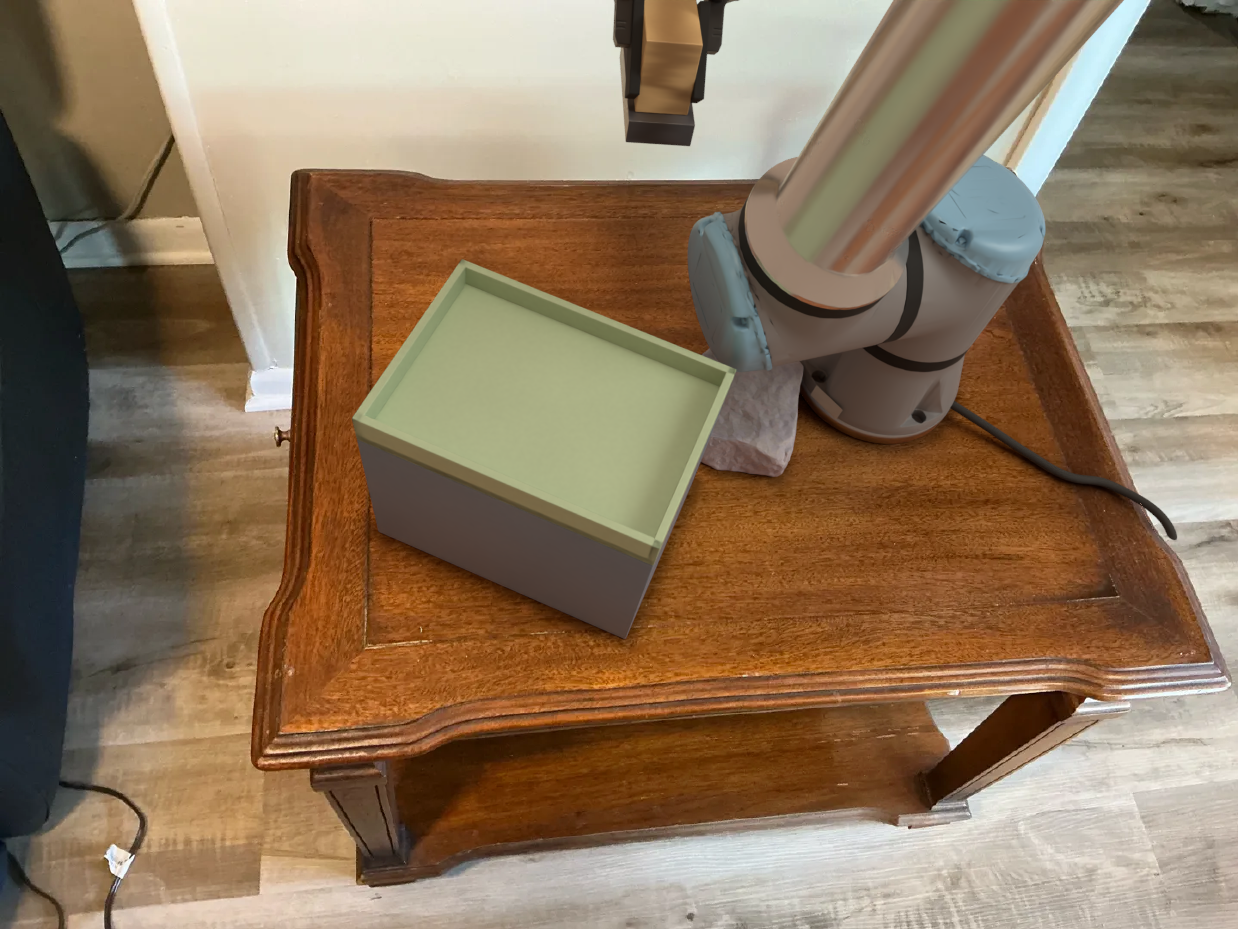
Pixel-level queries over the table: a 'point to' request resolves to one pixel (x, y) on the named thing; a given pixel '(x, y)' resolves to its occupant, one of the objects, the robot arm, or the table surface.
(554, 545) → the stand
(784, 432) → the stone block
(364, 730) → the table surface
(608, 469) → the tray
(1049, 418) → the table surface
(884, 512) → the table surface
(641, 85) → the eraser
